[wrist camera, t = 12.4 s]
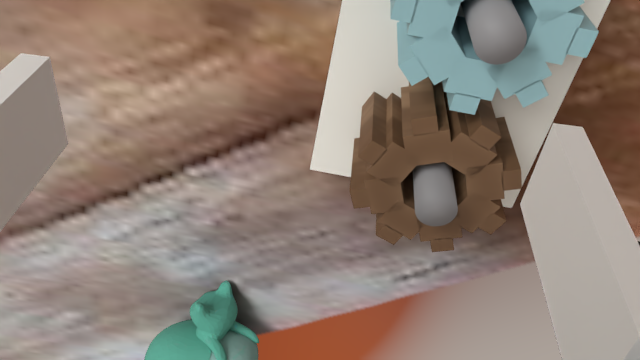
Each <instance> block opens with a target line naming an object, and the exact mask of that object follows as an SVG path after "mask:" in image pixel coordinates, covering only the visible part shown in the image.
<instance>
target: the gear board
mask: <svg viewBox="0 0 640 360" xmlns="http://www.w3.org/2000/svg"><path fill="white" fill-rule="evenodd" d="M584 2H585V3H583V4H581V5H579V6H580V7H581V9H582V10H583V11H584V13H585V14H586V15H587V17H588V18H589V19H590V21H591V22H592V23H593V25H594V26H595V27H596V29H597V28H598V26H599V24H600V21H601V19H602V17H603V15H604V13H605V11H606V9H607V7H608V5H609V3H610V0H584ZM457 16H462V17H465V20H466V23H467V26H468V30H469V33H470V37H471V40H472V44H473V47H474V51H475V53H476V55H477V56H478V57H479V58H480V59H481V60H482V61H484V62H486V63H489V64H494V65H498V64H504V63H507V62H510V61H512V60H513V59H515V58H516V57H517V56H518V55H519V54H520V53H521V52H522V50H523V49H524V47H525V44H526V41H527V32H526V29H525V27H524V25H523V23H522V21H521V19H520V17H519V15H518V13H517V11H516V9H515V7H514V5H513V3H512V1H511V0H464V1H462V2H461V3H460V6H459V9H458V13H457ZM397 22H399V21H397V20H392V19H391V16H390V0H342V5H341V10H340V15H339V20H338V26H337V31H336V36H335V41H334V46H333V52H332V57H331V62H330V67H329V72H328V77H327V83H326V88H325V93H324V98H323V103H322V109H321V114H320V119H319V124H318V129H317V135H316V140H315V145H314V150H313V155H312V160H311V166H310V170H316V171H321V172H326V173H331V174H336V175H342V176H347V177H351V170H352V159H353V148H354V138H360V125H361V112H362V106H363V105H364V104H365V102H366V101H367V100H368V98H369V97H370V96H371V95H372V93H373V92H376V93H378V94H379V95H381V96H382V97H384V98H386V99H387V98H388V97H389V96H390V94H391V93H394V94H395V95H397V96H399V97H400V98H401V87H407V86H409V81H408V80H407V78H406V77H405V75H404V74H403V72H402V71H401V69H400V68H399V66H398V44H397ZM582 59H583V57H579V56H574V55H569V54H567V55H566V57H565V59H564V62H563V64H562V65H559V64H554V63H549V62H546V64H547V65H548V67H549V69H550V71H551V73H552V75H551V76H549V77H547V78H545V79H543V80H542V82H543V84H544V86H545V88H546V90H547V92H548V94H549V95H548V96H546V97H544V98H542V99H540V100H538V101H536V102H534V103H532V104H530V105H528V106H526V107H524V108H523V106H522V105H521V103H520V101H519V99H518V98H517V96H516V94H514V95H512V96H510V97H508V98H506V99H504V97H503V96H502V94H501V92H500V91H499V89H498V87H497V89H496V92H495V94H494V97H493V99H492V101H491V103H492V107H493V110H494V113H495V117H496V118H499V117H505V120H506V124H507V127H508V130H509V133H510V136H511V139H512V142H513V145H514V149H515V152H516V155H517V158H518V161H519V164H520V167H521V180H522V185H523V183H524V181H525V179H526V177H527V175H528V173H529V171H530V169H531V167H532V164H533V162H534V160H535V158H536V156H537V154H538V152H539V150H540V148H541V146H542V143H543V141H544V139H545V137H546V135H547V133H548V131H549V129H550V127H551V125H552V122H553V120H554V118H555V116H556V114H557V112H558V110H559V108H560V106H561V103H562V101H563V99H564V97H565V95H566V93H567V91H568V89H569V87H570V85H571V82H572V80H573V78H574V76H575V74H576V72H577V70H578V68H579V66H580V64H581V61H582ZM442 86H443V82H442ZM443 92H444V89H443ZM413 186H414V204H415V214H416V217H417V218H418V220H419V221H421V222H422V223H423V224H426V225H429V226H443V225H446V224H448V223H450V222H451V221H452V220H453V219H454V218H455V217H456V215H457V212H458V206H457V200H456V193H455V187H454V180H453V173H452V167H451V166H450V165H448V164H447V163H445V162H440V163H433V164H425V165H418V166H416V167H415V168H414V169H413ZM520 190H521V189H515V190H507V191H504V197H505V199H501V201H502V205H503V207H508V208H512V207H513V204H514V202H515V200H516V198H517V196H518V194H519V192H520Z"/></svg>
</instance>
